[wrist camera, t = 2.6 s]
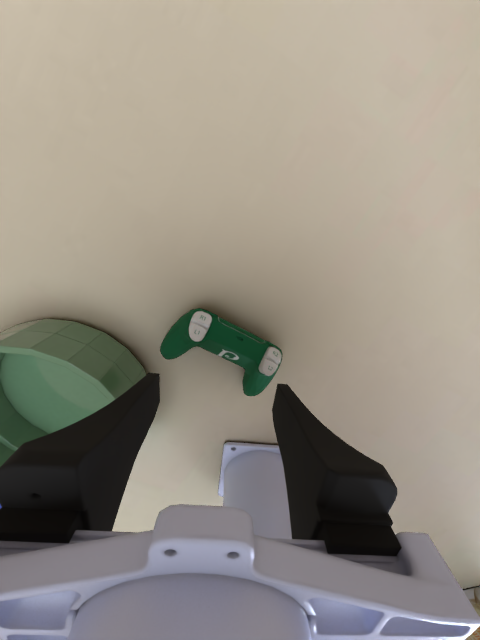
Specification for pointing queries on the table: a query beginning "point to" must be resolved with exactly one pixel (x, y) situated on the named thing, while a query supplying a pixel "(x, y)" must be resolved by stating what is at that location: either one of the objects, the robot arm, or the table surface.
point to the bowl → (57, 378)
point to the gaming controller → (225, 346)
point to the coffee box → (476, 597)
